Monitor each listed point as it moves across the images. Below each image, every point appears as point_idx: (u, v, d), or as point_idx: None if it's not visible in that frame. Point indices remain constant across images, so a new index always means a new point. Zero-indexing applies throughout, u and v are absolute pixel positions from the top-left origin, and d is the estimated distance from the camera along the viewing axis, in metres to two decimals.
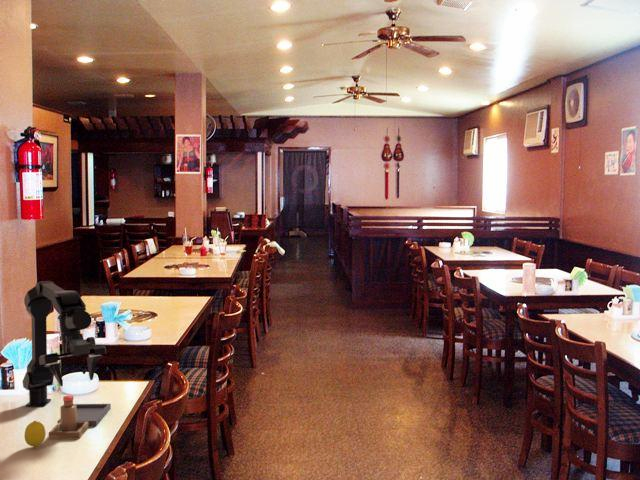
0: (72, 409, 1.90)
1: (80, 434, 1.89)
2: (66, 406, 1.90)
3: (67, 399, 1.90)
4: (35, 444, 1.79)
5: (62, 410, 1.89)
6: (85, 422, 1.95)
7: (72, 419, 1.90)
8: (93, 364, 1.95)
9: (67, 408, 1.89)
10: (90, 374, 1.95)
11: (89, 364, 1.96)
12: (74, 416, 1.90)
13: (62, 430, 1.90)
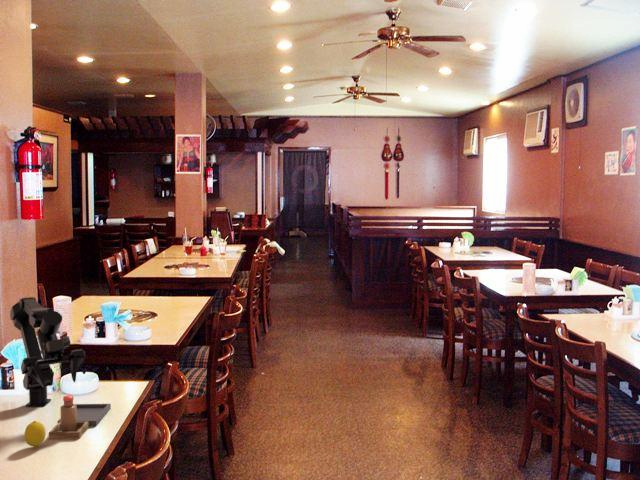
0: (72, 409, 1.90)
1: (80, 434, 1.89)
2: (66, 406, 1.90)
3: (67, 399, 1.90)
4: (35, 444, 1.79)
5: (62, 410, 1.89)
6: (85, 422, 1.95)
7: (72, 419, 1.90)
8: (74, 366, 2.02)
9: (67, 408, 1.89)
10: (73, 376, 2.01)
11: (71, 369, 2.03)
12: (74, 416, 1.90)
13: (62, 430, 1.90)
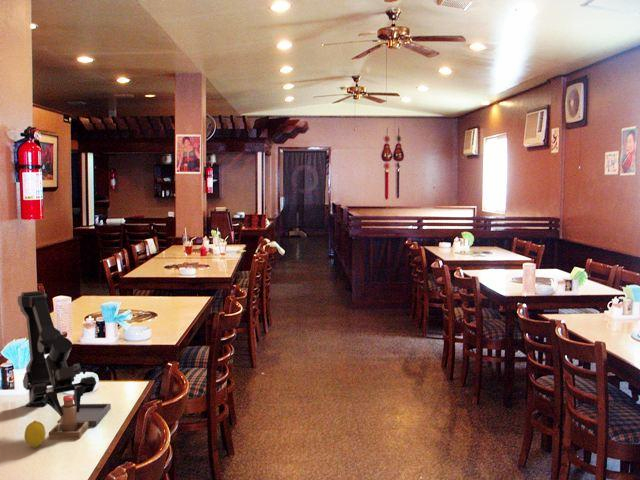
0: (72, 409, 1.90)
1: (80, 434, 1.89)
2: (66, 406, 1.90)
3: (67, 399, 1.90)
4: (35, 444, 1.79)
5: (62, 410, 1.89)
6: (85, 422, 1.95)
7: (72, 419, 1.90)
8: (77, 396, 1.94)
9: (67, 408, 1.89)
10: None
11: (75, 399, 1.95)
12: (74, 416, 1.90)
13: (62, 430, 1.90)
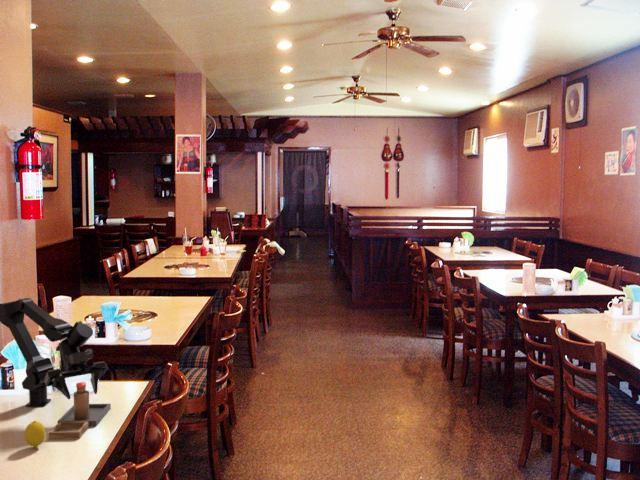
0: (85, 395, 2.00)
1: (80, 434, 1.89)
2: (79, 392, 2.00)
3: (80, 386, 2.00)
4: (35, 444, 1.79)
5: (75, 396, 2.00)
6: (85, 422, 1.95)
7: (84, 405, 2.00)
8: (95, 378, 2.05)
9: (80, 394, 2.00)
10: (94, 388, 2.04)
11: (92, 381, 2.06)
12: (86, 402, 2.01)
13: (75, 415, 2.00)
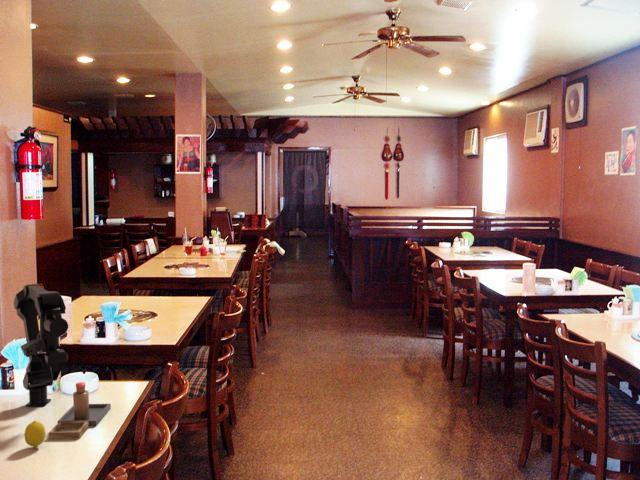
0: (84, 395, 2.00)
1: (80, 434, 1.89)
2: (79, 392, 2.00)
3: (79, 386, 2.00)
4: (35, 444, 1.79)
5: (75, 396, 1.99)
6: (85, 422, 1.95)
7: (84, 405, 2.00)
8: (50, 367, 2.00)
9: (80, 394, 2.00)
10: None
11: None
12: (86, 402, 2.01)
13: (75, 415, 2.00)
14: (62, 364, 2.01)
